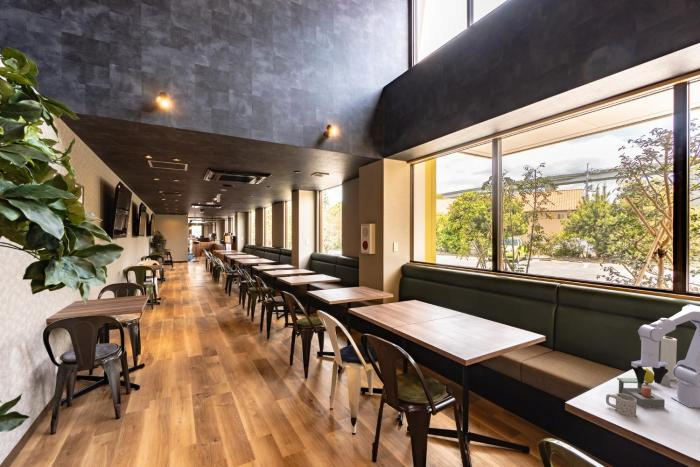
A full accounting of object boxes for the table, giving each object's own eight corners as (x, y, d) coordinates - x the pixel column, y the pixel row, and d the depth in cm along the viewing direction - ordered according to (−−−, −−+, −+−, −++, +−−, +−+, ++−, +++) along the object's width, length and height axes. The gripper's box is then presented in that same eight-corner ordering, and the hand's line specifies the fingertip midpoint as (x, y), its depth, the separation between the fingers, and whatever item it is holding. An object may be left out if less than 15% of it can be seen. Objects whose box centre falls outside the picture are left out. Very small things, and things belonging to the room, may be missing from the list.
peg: (645, 401, 144) (646, 385, 144) (652, 405, 141) (653, 389, 140) (638, 401, 144) (639, 386, 144) (645, 405, 140) (646, 389, 140)
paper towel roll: (677, 378, 166) (678, 338, 166) (673, 381, 163) (674, 340, 163) (658, 373, 173) (660, 334, 172) (654, 375, 170) (656, 336, 169)
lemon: (656, 387, 157) (657, 371, 156) (643, 386, 158) (644, 370, 158) (648, 382, 162) (649, 366, 162) (636, 381, 163) (636, 365, 163)
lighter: (670, 385, 159) (670, 369, 159) (669, 386, 158) (670, 370, 158) (650, 380, 164) (651, 365, 164) (650, 381, 163) (650, 366, 163)
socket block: (639, 392, 151) (639, 378, 151) (665, 407, 139) (666, 391, 139) (616, 392, 151) (616, 377, 151) (640, 407, 139) (641, 391, 139)
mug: (636, 412, 134) (637, 397, 134) (635, 419, 130) (636, 403, 130) (606, 403, 142) (607, 388, 141) (604, 409, 137) (605, 393, 137)
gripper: (641, 356, 137) (640, 387, 138) (675, 356, 137) (674, 387, 138) (627, 350, 144) (626, 379, 145) (659, 350, 144) (658, 379, 145)
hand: (648, 382), depth 142 cm, fingers open, 7 cm apart
